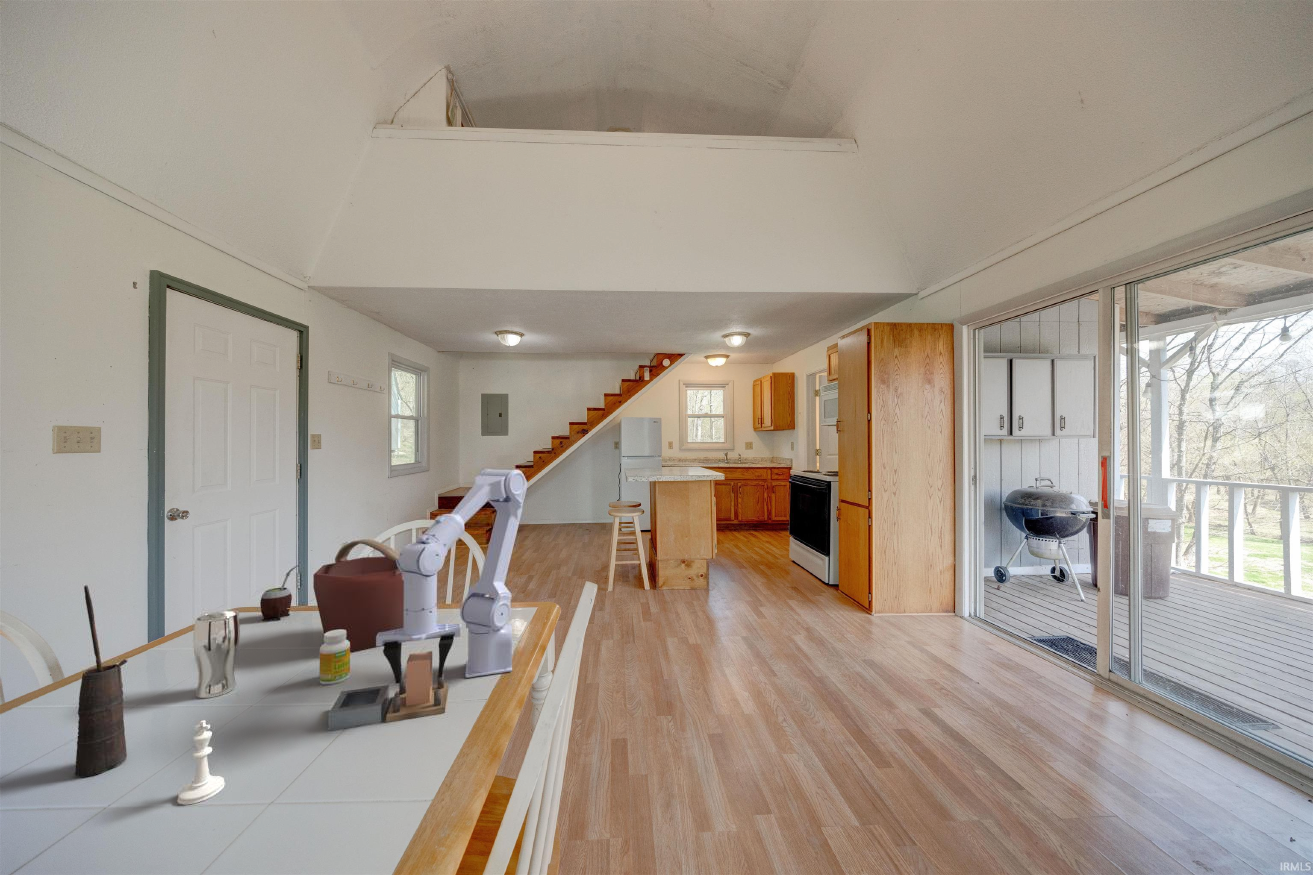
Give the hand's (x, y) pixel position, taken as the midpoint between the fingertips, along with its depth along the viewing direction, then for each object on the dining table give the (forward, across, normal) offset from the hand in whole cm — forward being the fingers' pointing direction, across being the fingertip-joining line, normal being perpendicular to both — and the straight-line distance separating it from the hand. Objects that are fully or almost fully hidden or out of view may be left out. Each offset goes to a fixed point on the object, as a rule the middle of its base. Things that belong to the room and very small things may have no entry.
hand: (419, 678), depth 93 cm
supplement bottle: (+5, -18, +17) cm, 25 cm away
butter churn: (+5, -43, -3) cm, 44 cm away
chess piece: (+5, -26, -16) cm, 31 cm away
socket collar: (+5, -10, 0) cm, 11 cm away
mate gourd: (+5, -44, +65) cm, 79 cm away
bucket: (+5, -17, +39) cm, 43 cm away
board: (+5, 0, 0) cm, 5 cm away
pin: (+4, 0, 0) cm, 4 cm away
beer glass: (+5, -39, +19) cm, 44 cm away
